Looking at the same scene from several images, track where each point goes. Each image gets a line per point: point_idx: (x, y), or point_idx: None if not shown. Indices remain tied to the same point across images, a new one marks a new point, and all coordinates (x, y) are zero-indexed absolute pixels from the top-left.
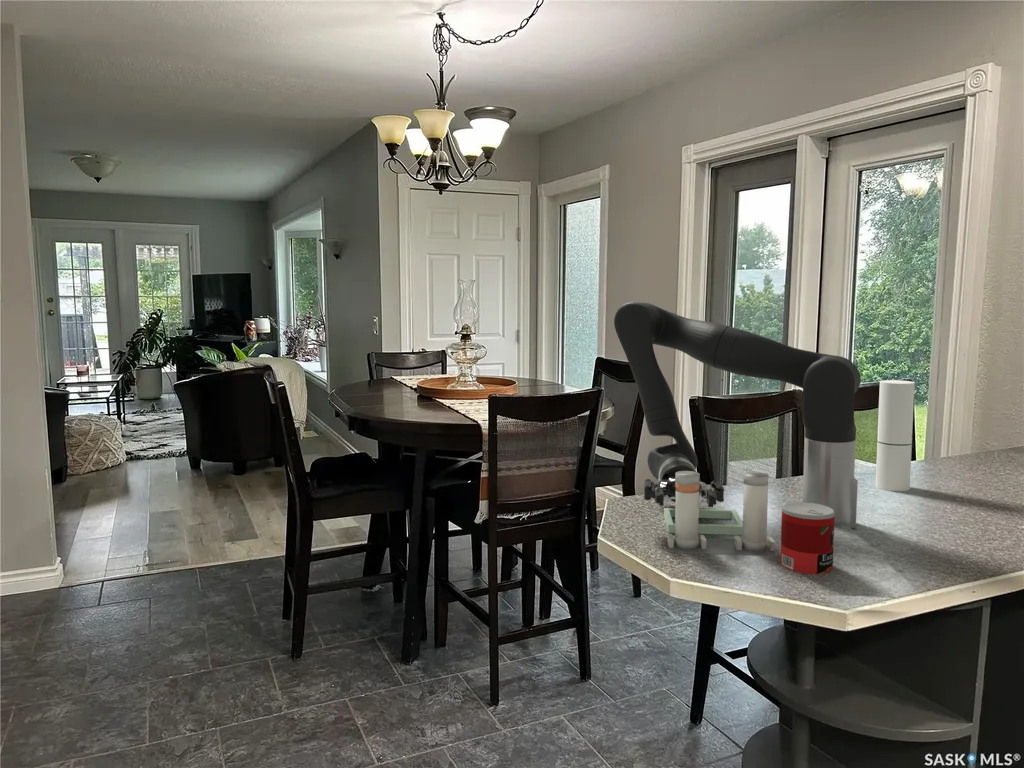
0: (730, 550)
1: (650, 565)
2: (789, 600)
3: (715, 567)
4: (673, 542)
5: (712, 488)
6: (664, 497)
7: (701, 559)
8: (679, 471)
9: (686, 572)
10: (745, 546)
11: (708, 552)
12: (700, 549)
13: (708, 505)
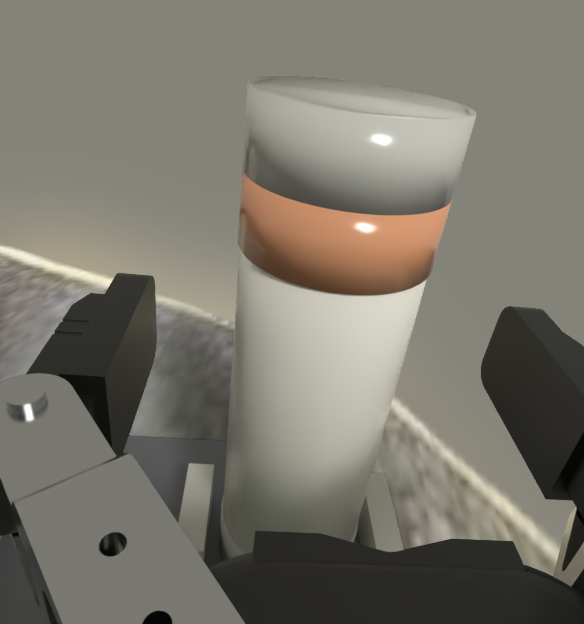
0: None
1: (424, 437)
2: (67, 271)
3: (181, 424)
4: None
5: (1, 404)
6: (562, 560)
7: None
8: (452, 118)
9: None
10: None
11: (191, 452)
12: (221, 483)
13: (149, 368)
